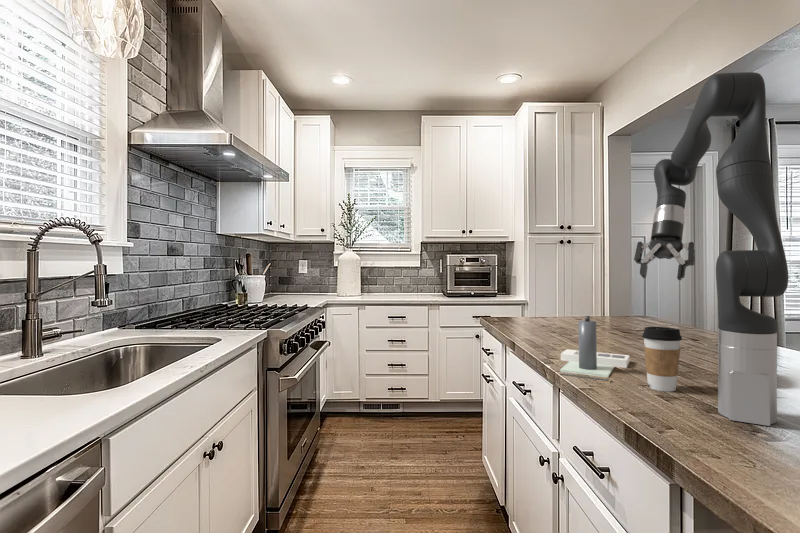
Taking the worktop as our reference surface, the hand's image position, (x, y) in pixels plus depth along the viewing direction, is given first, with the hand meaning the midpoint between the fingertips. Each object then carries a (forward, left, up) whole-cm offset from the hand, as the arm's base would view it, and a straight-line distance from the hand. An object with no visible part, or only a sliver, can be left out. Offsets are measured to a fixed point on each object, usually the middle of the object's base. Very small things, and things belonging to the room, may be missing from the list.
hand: (661, 278), depth 120 cm
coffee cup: (-15, -1, -27) cm, 31 cm away
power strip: (+3, +14, -26) cm, 30 cm away
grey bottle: (-9, +17, -25) cm, 32 cm away
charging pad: (-9, +17, -26) cm, 33 cm away
